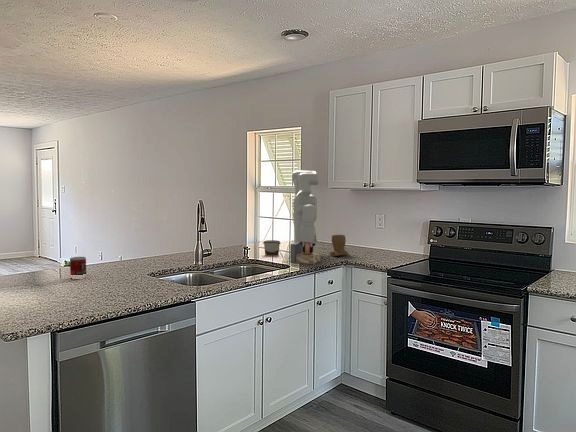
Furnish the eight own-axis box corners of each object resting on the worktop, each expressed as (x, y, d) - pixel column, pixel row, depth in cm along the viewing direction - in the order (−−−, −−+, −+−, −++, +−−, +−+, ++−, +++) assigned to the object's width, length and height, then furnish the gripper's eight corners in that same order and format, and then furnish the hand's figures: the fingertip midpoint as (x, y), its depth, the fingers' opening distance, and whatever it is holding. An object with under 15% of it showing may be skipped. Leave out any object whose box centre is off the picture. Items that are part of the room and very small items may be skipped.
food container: (281, 254, 321) (281, 240, 320) (280, 255, 315) (280, 241, 314) (264, 253, 322) (264, 240, 321) (263, 255, 316) (263, 241, 315)
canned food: (76, 280, 232) (75, 259, 231) (67, 278, 236) (66, 258, 235) (89, 278, 238) (89, 257, 237) (80, 276, 242) (80, 256, 242)
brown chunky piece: (338, 253, 326) (338, 232, 325) (351, 255, 317) (351, 234, 316) (324, 255, 316) (324, 234, 314) (337, 257, 307) (338, 235, 306)
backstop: (299, 259, 299) (299, 241, 298) (303, 259, 297) (303, 241, 297) (290, 262, 286) (290, 244, 285) (294, 263, 285) (294, 244, 284)
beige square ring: (302, 259, 296) (303, 252, 296) (319, 261, 291) (320, 253, 291) (295, 262, 286) (295, 254, 285) (313, 264, 281) (313, 256, 280)
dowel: (306, 257, 291) (306, 238, 290) (311, 257, 289) (312, 239, 288) (303, 257, 287) (304, 239, 286) (309, 258, 286) (309, 239, 285)
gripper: (293, 224, 287) (293, 252, 288) (318, 225, 280) (317, 254, 281) (298, 223, 294) (298, 251, 295) (322, 224, 287) (322, 252, 288)
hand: (308, 252), depth 288 cm, fingers closed on dowel, 3 cm apart
